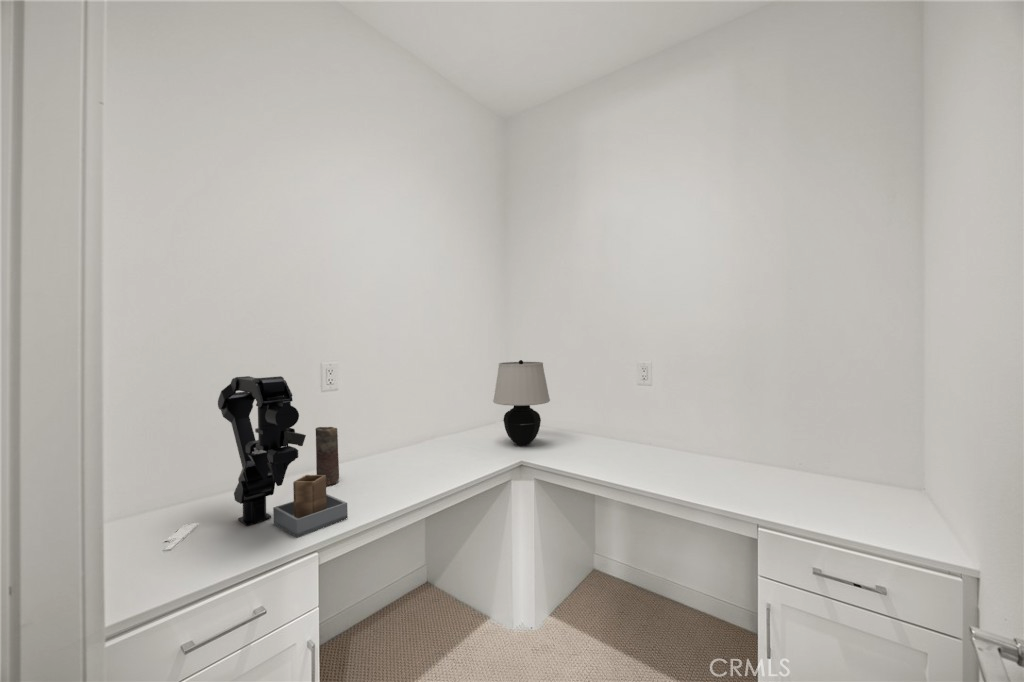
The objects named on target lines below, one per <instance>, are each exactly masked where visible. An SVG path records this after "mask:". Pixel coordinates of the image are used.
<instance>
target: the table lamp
mask: <svg viewBox="0 0 1024 682" xmlns="http://www.w3.org/2000/svg"><path fill="white" fill-rule="evenodd" d="M544 368H545V367H544V362H543V361H523V360H521V359H520V360H519V361H507V362H499V363H498V368H497V377H496V383H495V389H494V396H493V399H492V402H493V403H494V404H496V405H501V406H510V407H511V406H512V407H513V408H510V409H509V410H507V412H505V413H504V416H503V419H502V421H503V425H504V428H505V429H504V430H505V431H506V434H507V436H508V437H509V439H510V440H511V441H512V442H513V443H514V444H516V445H517V446H527V445H529V444H531V443H532V442H533V441H534V440H535V439H536V437H537V436H538V434H539V431H540V427H541V423H542V419H541V415H540V414H539V412H538V411H536V410H534V408H532V407H531V406H538V405H545V404H547V403H549V402H550V401H551V398H550V395H549V390H548V384H547V380H546V375H545V369H544Z"/></svg>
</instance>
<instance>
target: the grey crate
mask: <svg viewBox="0 0 1024 682" xmlns="http://www.w3.org/2000/svg"><path fill="white" fill-rule="evenodd" d="M326 499H327V509H325V510H322V511H319V512H316V513H313V514H310V515H307V516H304V517H302V518H299V519H298V518H296V517H294V500H293V501H290V502H287V503H283V504H279V505H276V506H274V507H273V508H272V510H273V511H272V512H273V524H274V525H275V526H277V527H278V528H280V529H282V530H283V531H285V532H286V533H289V534H290V535H292V536H294V537H296V538H298V539H299V538H300V537H302V536H305V535H309V534H311V533H314V532H316V531H318V529H319V530H321V528H322V529H324V528H327V527H329V526H331V524H332V525H335V524H337V523H340V522H342V521H341V520H343V521H345V520H347V519H346V518H349V516H348V515H349V513H348V502H346V501H344V500H341V499H339V498H337V497H334V496H332V495H331V494H327V493H326ZM344 519H345V520H344ZM339 521H340V522H339ZM336 522H337V523H336ZM334 523H335V524H334ZM323 527H324V528H323ZM313 531H314V532H313Z"/></svg>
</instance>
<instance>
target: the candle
mask: <svg viewBox="0 0 1024 682" xmlns="http://www.w3.org/2000/svg"><path fill="white" fill-rule="evenodd" d="M338 438H339V435H338V428H337V427H334V426H318V427H315V452H316V453H315V455H316V456H315V459H316V471H315V472H316V475H326V487H327V486H330V485H332V484H336V483H337V482H338V481H339V480H340V467H339V465H340V464H339V463H340V462H339V439H338Z"/></svg>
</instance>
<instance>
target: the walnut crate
mask: <svg viewBox="0 0 1024 682" xmlns="http://www.w3.org/2000/svg"><path fill="white" fill-rule="evenodd" d="M292 484H293V485H292V486H293V489H292V490H293V501H294V517H296V518H298V519H299V518H302V517H304V516H307V515H310V514H313V513H316V512H319V511H322V510H325V509H327V499H326V494H327V486H326V475H317V474H305V475H303V476H300V478H298V479H296V480H294V481H293V483H292Z"/></svg>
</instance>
